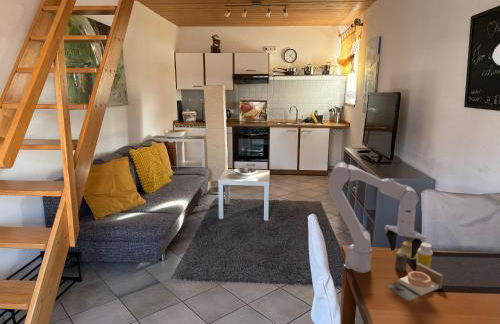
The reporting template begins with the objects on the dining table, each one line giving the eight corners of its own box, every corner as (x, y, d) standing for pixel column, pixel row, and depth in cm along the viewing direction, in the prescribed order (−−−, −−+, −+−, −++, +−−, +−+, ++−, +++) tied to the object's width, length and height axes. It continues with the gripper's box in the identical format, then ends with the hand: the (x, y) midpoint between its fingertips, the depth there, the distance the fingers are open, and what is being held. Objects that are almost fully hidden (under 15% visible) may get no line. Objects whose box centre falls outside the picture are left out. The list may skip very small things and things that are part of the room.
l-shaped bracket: (385, 289, 121) (387, 274, 120) (417, 277, 129) (419, 263, 127) (408, 303, 113) (410, 287, 112) (441, 290, 120) (443, 275, 119)
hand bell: (396, 249, 151) (399, 215, 148) (416, 252, 148) (420, 218, 145) (397, 258, 144) (400, 222, 140) (419, 261, 141) (422, 225, 137)
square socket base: (399, 282, 124) (400, 273, 123) (415, 276, 128) (416, 267, 127) (421, 295, 116) (422, 286, 115) (438, 288, 120) (439, 279, 119)
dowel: (392, 270, 134) (393, 254, 132) (399, 268, 136) (400, 252, 134) (400, 275, 130) (402, 258, 129) (408, 272, 132) (409, 256, 131)
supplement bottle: (432, 271, 133) (435, 248, 131) (417, 270, 134) (420, 247, 132) (428, 264, 138) (431, 242, 136) (414, 263, 139) (416, 241, 137)
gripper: (382, 217, 127) (379, 250, 130) (422, 228, 117) (418, 264, 120) (390, 212, 132) (388, 244, 135) (430, 222, 122) (426, 257, 125)
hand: (402, 253), depth 128 cm, fingers open, 7 cm apart
